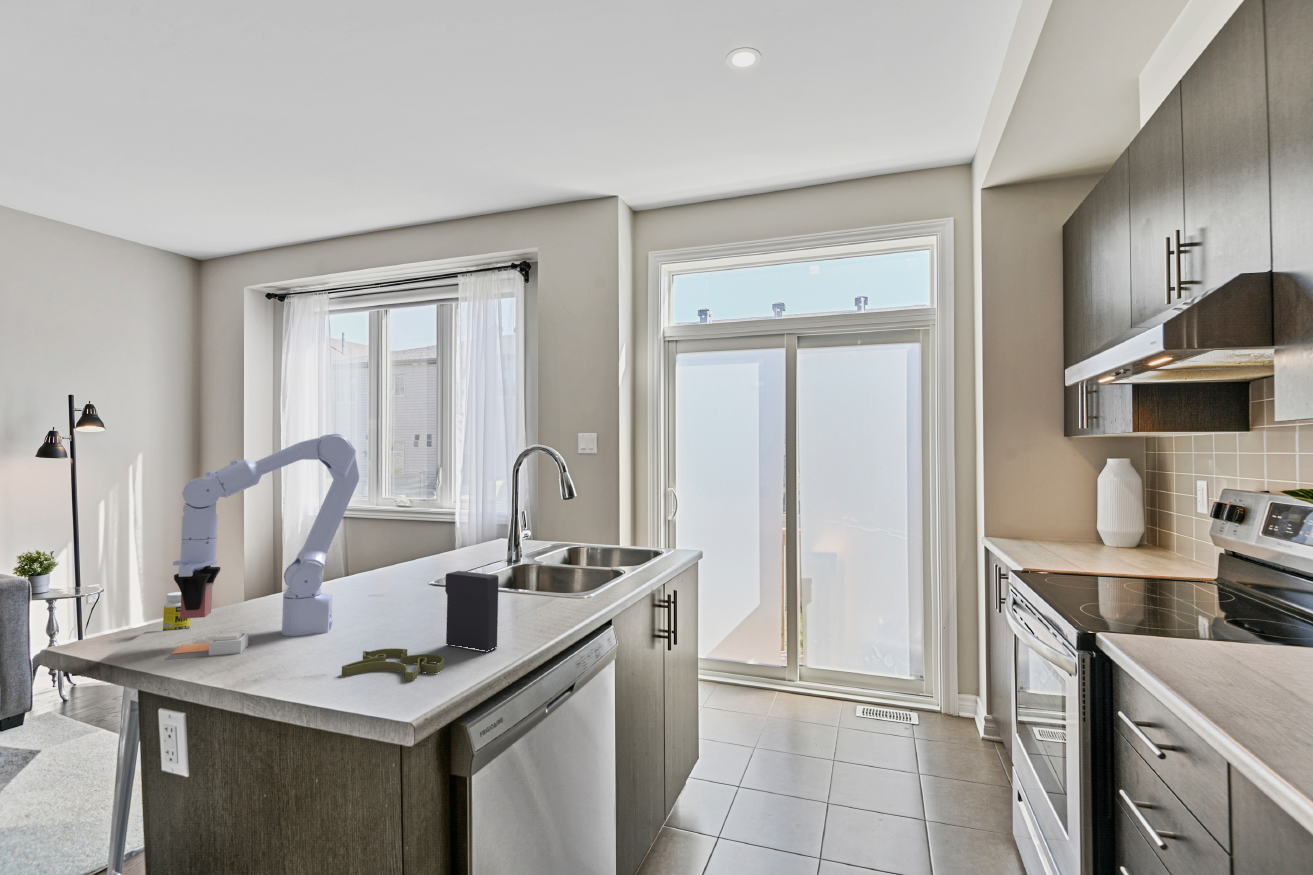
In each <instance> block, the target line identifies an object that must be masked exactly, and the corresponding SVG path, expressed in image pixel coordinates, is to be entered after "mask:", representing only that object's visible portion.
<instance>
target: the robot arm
mask: <svg viewBox="0 0 1313 875" xmlns="http://www.w3.org/2000/svg"><path fill="white" fill-rule="evenodd" d="M356 453H357V452H356V449H355V448H354V446H353V444H352V442H351V441H350V440H349V439H348V437H346V436H345V435H342V434H340V433H331V434H324V435H322V436H320V437H315V438H311V439H308V440H303V441H299V442H297V443H294V444H292V445H290V446H287V447H285V448H284V449H281V450H278V451H276V452H274V453H272V454H270V455H268V456H265V457H263V458H261V459H258V460H256V461H251V460H249V459H241V460H238V459H234V460H231V461H230V464H229V465H227V466H224V467H221V468H219V469H216V470H214V471H210V470H207V471H206V472H204V475H205V477H196V478H193V479H192V480H190V481H188V482H187V483H186V485H185V486H184V488H183V490H182V498H183V500H184V501H185V503H184V505H183V507H182V512H183V515H182V516H181V535H180V536H181V539H180V540H181V543H180V544H181V545H180V559H179V560H174V561H173V562H172V565H173V566H178V573H176V574H174V575H173V580H174V581H175V583H176V584H177V586H178V588H179V590H180V591H179V592H181V593H182V597H183V601H184V606H185V609H186V610H198V609H199V608H200V606H201V602H202V596H203V591H204V588H205V585H206V583H213V584H214V582H215V580H216V578H217V576H218V575H219V573H220V572H221V566H214V565H217V564H218V559H217V543H218V542H217V537H218V534H217V533H218V532H217V531H218V514H217V501H219V498H228V497H230V496H233V495H235V494H238V493H240V492H242V491H244V490H247V489H248V488H251V487H253V486H256V485H258V484H259V482H260V479H261V477H262V476H263V475H266V474H268V473H270V472H273V471H277V470H278V469H281V468H283V467H286V466H288V465H291V464H293V463H295V462H298V461H302V460H306V461H308V460H310V461H313V460H315V461H316V460H319V461H320V462H321V463H322V464H324V465H325V467H326V468H327V471H328V472H329V474H330V476H331V478H332V482H331V484H330V486H329V489H328V491H327V493H326V496H325V498H324V500H323V502H322V505H321V507H320V509H319V511H318V513H317V516H316V518H315V520H314V523H313V524H312V527H311V529H310V530H309V533H308V534H307V537H306V540H305V543H304V544H303V547H302V548H301V549H300V551H299V553H298V554H297V556H296V558H295V559H294V560H293V561H292V563H290V565H288V567H286V568H285V571H284V573H283V579H284V582H285V584H286V585H287V586H288V587H287V588H286V591H284V592H283V594H282V596H283V597H282V615H281V616H282V617H281V618H282V620H281V622H282V623H281V624H282V625H281V634H282V635H284V636H287V637H290V636H292V637H293V636H294V637H296V636H297V637H298V636H306V635H315V634H326V633H329V631H330V629H332V628H333V594H332V593H324V592H323V593H322V589H321V587H322V583H323V571H324V568H325V566H326V564H325V563H326V559H327V554H328V552H329V549H330V547H331V544H332V543H333V540H334V538H335V536H336V534H337V531H338V529H339V526H340V524H341V522H342V519H343V517H344V515H345V513H346V510H347V508H348V506H349V503H350V501H351V499H352V497H353V495H354V492H355V490H356V488H357V485H358V483H359V481H360V473H359V467H358V464H357V463H358V462H357V456H356Z"/></svg>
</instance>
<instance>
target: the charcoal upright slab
mask: <svg viewBox="0 0 1313 875" xmlns="http://www.w3.org/2000/svg"><path fill="white" fill-rule="evenodd" d="M499 577H500V576H498V575H497V574H489V573H481V572H479V573H478V572H471V571H461V570H456V571H453V572H446V574H445V589H444V590H445V593H446V595H447V596H446V630H445V631H446V632H445V633H446V636H445V637H446V639H445V640H446V641H445V644H448V645H455V646H462V647H468V648H475V649H479V650H485V651H488V650H491V649H492V648H495V647H497V648H498V615H499V613H498V612H499Z"/></svg>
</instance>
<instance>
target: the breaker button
mask: <svg viewBox="0 0 1313 875" xmlns="http://www.w3.org/2000/svg"><path fill="white" fill-rule="evenodd" d="M243 633H244V632H243V630H232V631H220V632H219V633H217V635H216V636H215V637H214V638H215V641H228V640H239V639H240V638H241V637H242V635H243Z"/></svg>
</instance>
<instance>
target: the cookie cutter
mask: <svg viewBox="0 0 1313 875" xmlns="http://www.w3.org/2000/svg"><path fill="white" fill-rule="evenodd" d="M400 657H401V658H400ZM386 658H400V662H398V661H388V660H386ZM427 662H436V663H439V664H432V663H427ZM444 662H445V660H444V657H443V656H442V655H440V654H436V653H435V654H434V653H428V654H427V653H426V654H425V653H423V654H421V653H420V654H414V655H413V654H412V655H410V654H409V655H408V649H406V648H398V647H397V648H394V647H393V648H380V649H374V650H370V651H369V650H363V651H362V660H358V661H355V662H350V663H347V664H345V665H341V676H344V677H352V676H355V675H359V674H365V673H369V672H381V671H382V672H383V671H384V670H385V671H386V670H391V671H390V672H397V671H399V672H398V673H400V672H402V673H404V674H405V675H404V674H403V675H404V682H410V681H413V682H414V681H416V680H417V679H418V677H419V675H420V673H422V672H426V673H425V674H427V673H438V672H440V671H441V670H442V669H443V670H444V668H443V667H444V666H445V665H444ZM414 663H418V664H416V667H415V669H414V670H413V671H409V670H408V669H409V668H408V665H404V664H409V665H415V664H414ZM419 666H420V667H419ZM443 670H442V671H443ZM442 671H441V672H442ZM441 672H440V673H441ZM402 673H401V674H402ZM418 674H419V675H418ZM417 676H418V677H417ZM415 679H416V680H415Z"/></svg>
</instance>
